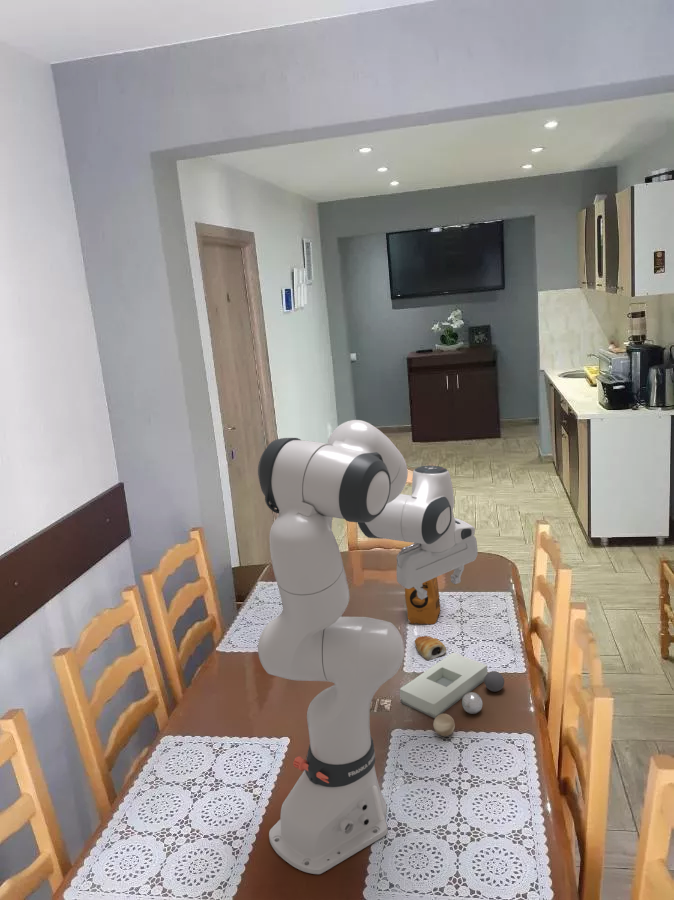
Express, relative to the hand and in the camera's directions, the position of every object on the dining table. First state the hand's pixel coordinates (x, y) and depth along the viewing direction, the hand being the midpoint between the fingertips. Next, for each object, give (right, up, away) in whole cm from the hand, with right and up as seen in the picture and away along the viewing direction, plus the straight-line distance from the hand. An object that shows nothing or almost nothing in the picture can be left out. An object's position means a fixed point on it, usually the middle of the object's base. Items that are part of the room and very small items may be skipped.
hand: (439, 589), depth 162 cm
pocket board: (+2, -25, +7) cm, 26 cm away
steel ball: (+7, -24, -3) cm, 26 cm away
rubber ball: (+13, -22, +5) cm, 26 cm away
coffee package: (+2, -16, +44) cm, 47 cm away
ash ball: (0, -27, -9) cm, 28 cm away
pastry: (+1, -21, +25) cm, 33 cm away
